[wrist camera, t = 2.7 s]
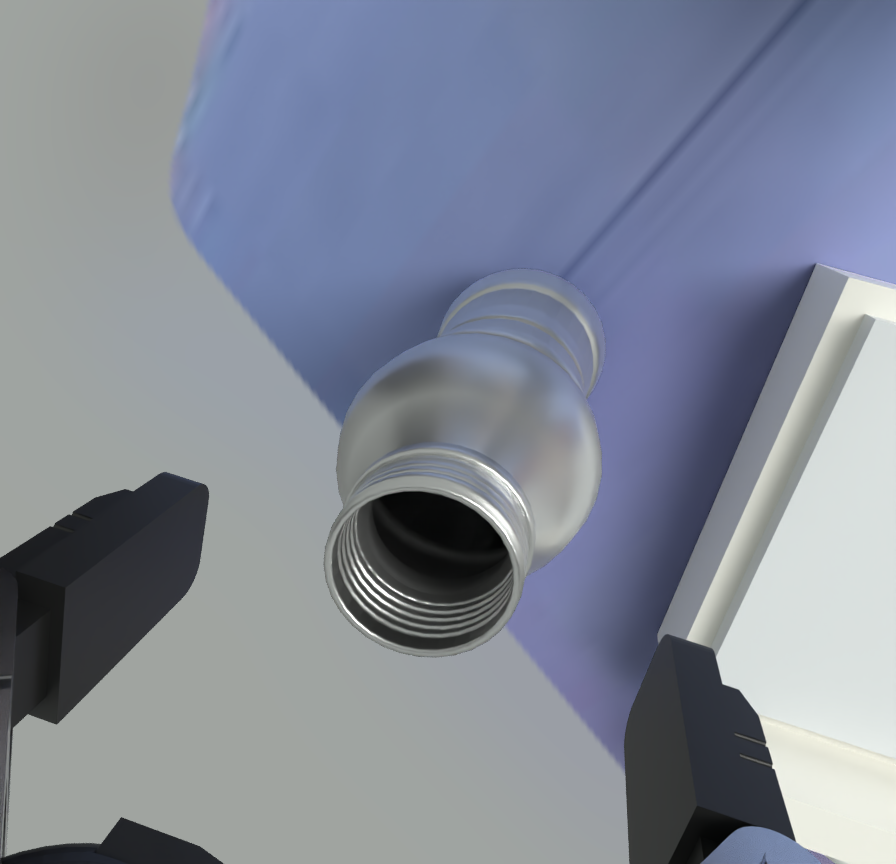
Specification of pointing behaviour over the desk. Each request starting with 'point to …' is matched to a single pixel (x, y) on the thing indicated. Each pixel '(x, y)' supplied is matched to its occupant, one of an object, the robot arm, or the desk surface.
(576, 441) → the silver metal bottle
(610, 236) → the desk surface
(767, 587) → the plate
